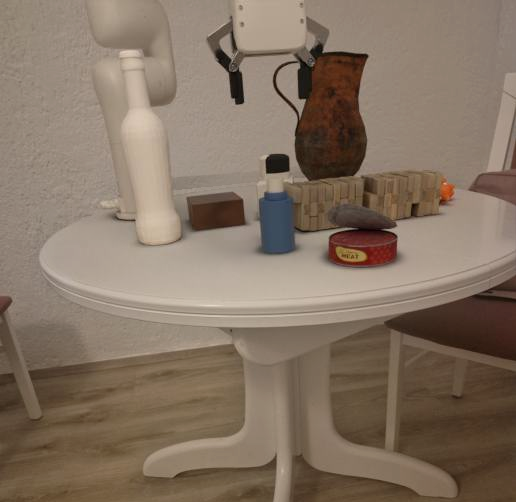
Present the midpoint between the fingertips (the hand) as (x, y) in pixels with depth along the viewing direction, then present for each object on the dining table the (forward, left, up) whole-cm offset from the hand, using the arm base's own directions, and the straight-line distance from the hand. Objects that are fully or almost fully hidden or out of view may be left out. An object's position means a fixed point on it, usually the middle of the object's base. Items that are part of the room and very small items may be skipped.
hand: (272, 101), depth 69 cm
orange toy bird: (+41, +19, -22) cm, 50 cm away
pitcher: (+23, +40, -22) cm, 51 cm away
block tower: (+20, +11, -22) cm, 31 cm away
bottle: (-18, +15, -22) cm, 32 cm away
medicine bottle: (+7, +24, -22) cm, 33 cm away
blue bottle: (0, -1, -21) cm, 21 cm away
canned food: (+10, -11, -22) cm, 26 cm away
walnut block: (-6, +24, -21) cm, 33 cm away
